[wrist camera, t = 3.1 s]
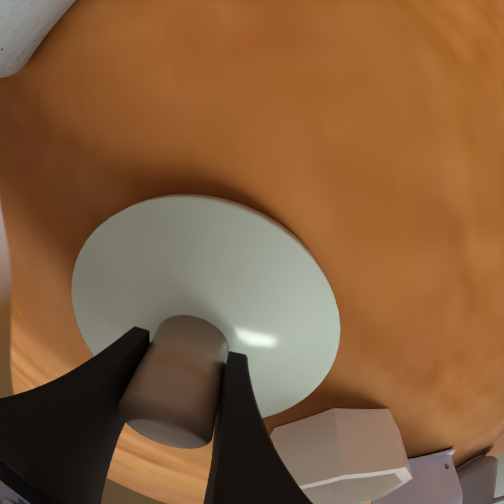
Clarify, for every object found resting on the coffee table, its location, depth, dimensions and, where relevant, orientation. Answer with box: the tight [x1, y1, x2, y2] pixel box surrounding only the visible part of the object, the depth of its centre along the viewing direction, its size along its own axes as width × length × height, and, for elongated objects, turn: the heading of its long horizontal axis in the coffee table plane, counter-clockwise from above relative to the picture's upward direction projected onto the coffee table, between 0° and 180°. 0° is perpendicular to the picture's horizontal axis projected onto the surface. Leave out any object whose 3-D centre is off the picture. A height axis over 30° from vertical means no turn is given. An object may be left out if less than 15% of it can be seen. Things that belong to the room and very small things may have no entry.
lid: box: [71, 194, 340, 449], centre depth 9 cm, size 12×12×5 cm
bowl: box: [270, 408, 413, 504], centre depth 13 cm, size 9×9×4 cm
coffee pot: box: [455, 455, 504, 504], centre depth 13 cm, size 21×12×15 cm, turn 140°
